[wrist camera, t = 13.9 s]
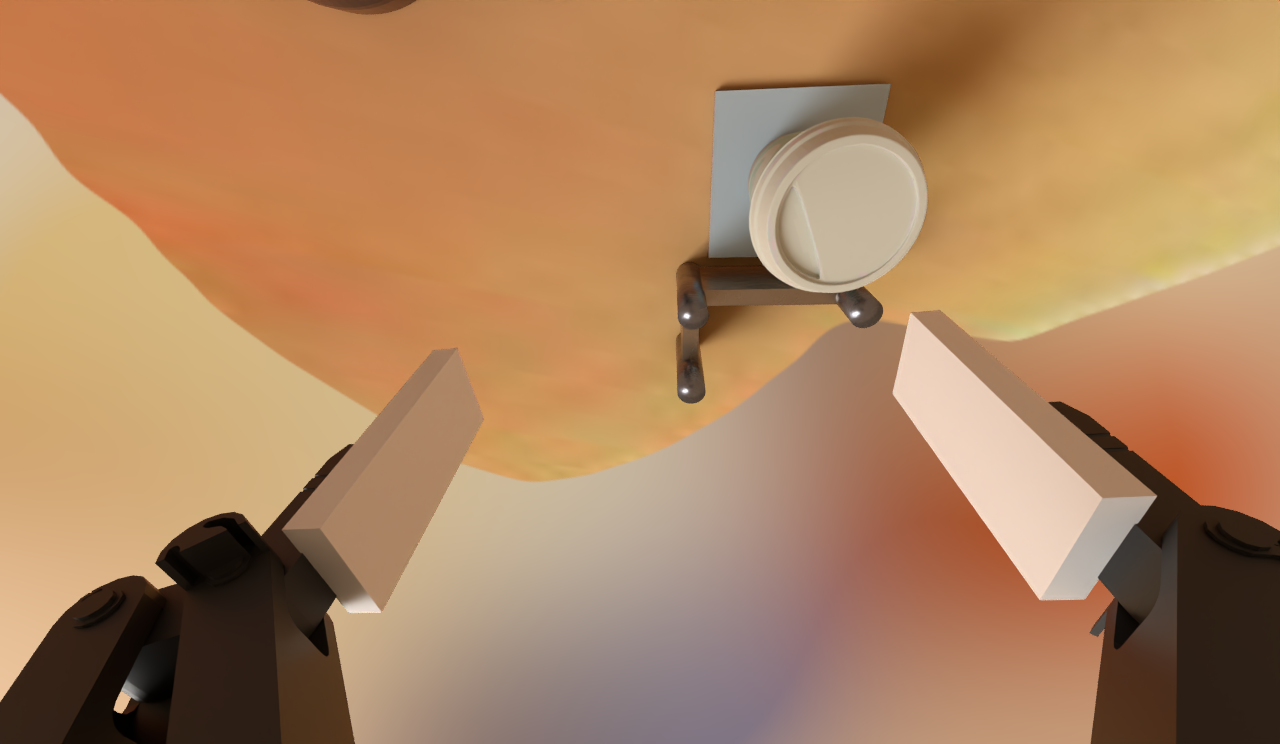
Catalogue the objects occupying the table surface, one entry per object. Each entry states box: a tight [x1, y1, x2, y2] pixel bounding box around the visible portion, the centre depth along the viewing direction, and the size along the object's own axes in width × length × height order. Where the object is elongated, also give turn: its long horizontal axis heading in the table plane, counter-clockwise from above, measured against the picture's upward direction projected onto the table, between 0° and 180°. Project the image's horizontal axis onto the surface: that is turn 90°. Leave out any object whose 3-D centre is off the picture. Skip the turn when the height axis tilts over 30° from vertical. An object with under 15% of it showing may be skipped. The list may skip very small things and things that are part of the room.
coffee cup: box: [748, 117, 928, 293], centre depth 27 cm, size 9×9×12 cm
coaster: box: [708, 84, 891, 258], centre depth 33 cm, size 11×11×1 cm
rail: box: [676, 262, 883, 403], centre depth 35 cm, size 8×13×8 cm, turn 92°
